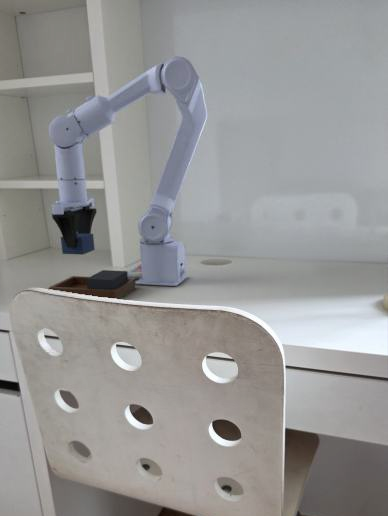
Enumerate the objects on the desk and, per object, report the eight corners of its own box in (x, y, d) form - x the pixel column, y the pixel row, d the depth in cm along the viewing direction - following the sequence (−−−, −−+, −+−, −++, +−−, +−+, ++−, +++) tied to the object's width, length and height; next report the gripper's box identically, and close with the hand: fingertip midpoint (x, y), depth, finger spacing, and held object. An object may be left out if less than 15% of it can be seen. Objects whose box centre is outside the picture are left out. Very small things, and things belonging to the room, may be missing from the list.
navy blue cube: (94, 249, 117) (93, 233, 116) (83, 254, 112) (81, 237, 111) (74, 249, 118) (72, 233, 117) (62, 253, 113) (60, 237, 112)
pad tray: (135, 288, 111) (134, 278, 110) (116, 301, 102) (115, 291, 101) (73, 285, 115) (72, 275, 114) (49, 297, 106) (48, 287, 105)
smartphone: (121, 275, 119) (143, 261, 132) (122, 279, 119) (144, 265, 133) (152, 276, 117) (171, 261, 130) (152, 280, 117) (172, 265, 131)
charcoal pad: (128, 287, 110) (127, 271, 109) (113, 296, 103) (112, 279, 102) (104, 285, 111) (102, 270, 110) (87, 295, 105) (86, 278, 103)
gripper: (71, 177, 117) (77, 238, 122) (35, 181, 104) (44, 250, 109) (100, 177, 115) (105, 239, 120) (67, 181, 102) (74, 251, 107)
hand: (78, 244), depth 115 cm, fingers closed on navy blue cube, 5 cm apart
